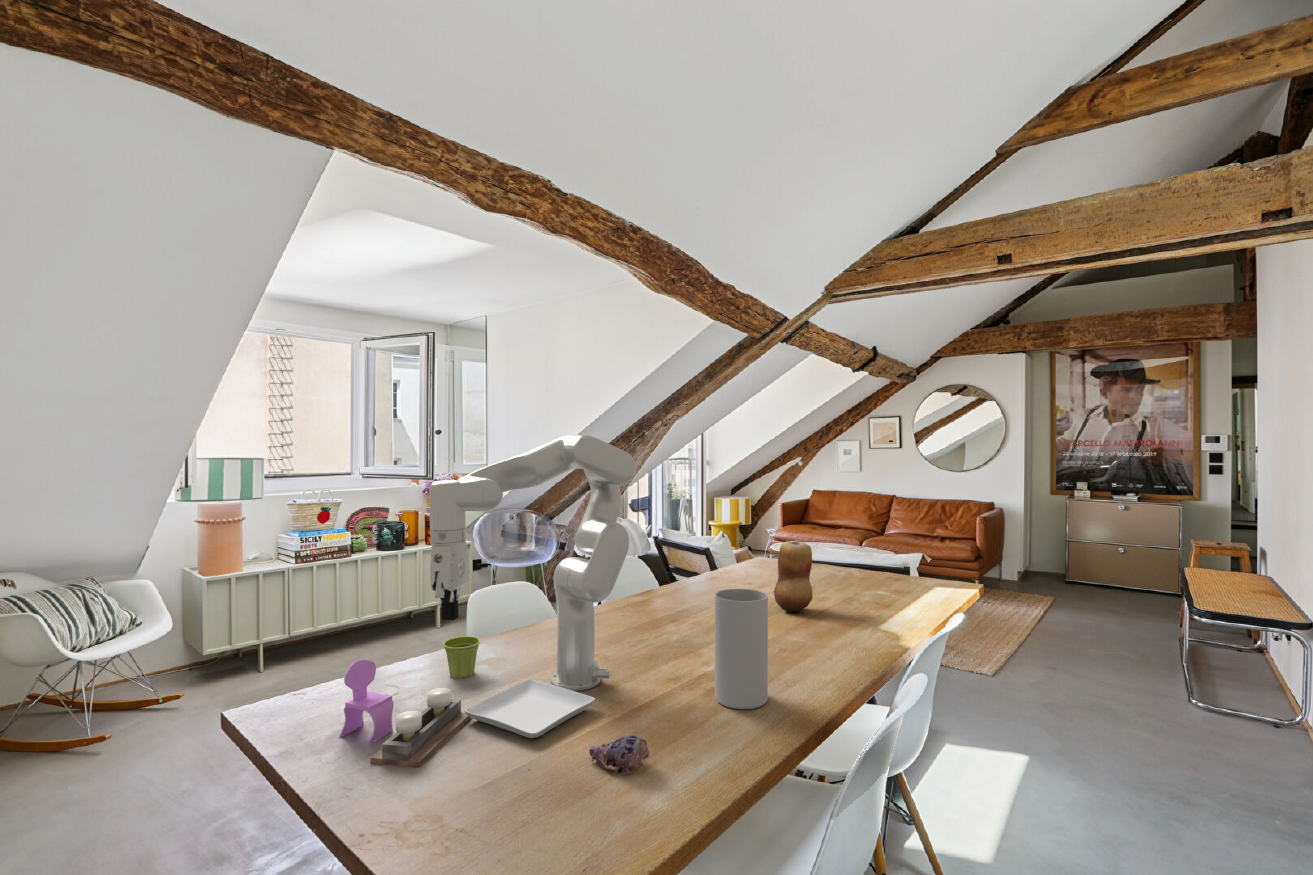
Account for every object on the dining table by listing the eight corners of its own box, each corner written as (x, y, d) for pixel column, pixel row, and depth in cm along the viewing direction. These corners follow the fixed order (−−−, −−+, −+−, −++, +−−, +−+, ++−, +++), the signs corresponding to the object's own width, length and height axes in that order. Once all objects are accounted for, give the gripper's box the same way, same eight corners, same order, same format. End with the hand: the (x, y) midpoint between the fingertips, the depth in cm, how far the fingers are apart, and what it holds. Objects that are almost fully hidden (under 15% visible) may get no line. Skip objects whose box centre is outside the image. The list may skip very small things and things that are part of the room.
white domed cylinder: (426, 737, 129) (426, 711, 129) (413, 748, 124) (413, 721, 124) (404, 735, 130) (404, 709, 130) (390, 746, 125) (390, 720, 125)
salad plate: (534, 749, 129) (534, 732, 129) (461, 724, 141) (461, 708, 141) (598, 711, 147) (598, 696, 147) (529, 691, 159) (529, 677, 159)
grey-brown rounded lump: (581, 765, 123) (581, 733, 123) (605, 749, 129) (605, 718, 129) (634, 783, 116) (634, 749, 116) (656, 765, 123) (656, 733, 123)
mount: (470, 717, 143) (471, 700, 143) (418, 767, 121) (418, 747, 121) (429, 714, 145) (429, 697, 145) (370, 762, 123) (370, 743, 123)
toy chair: (368, 746, 130) (368, 672, 130) (335, 739, 133) (335, 666, 133) (398, 728, 138) (398, 658, 138) (366, 722, 141) (366, 653, 141)
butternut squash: (804, 618, 222) (804, 546, 222) (768, 612, 229) (768, 542, 229) (817, 609, 234) (818, 540, 234) (783, 604, 241) (783, 537, 241)
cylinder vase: (771, 693, 157) (771, 591, 157) (762, 713, 145) (762, 603, 145) (721, 686, 161) (721, 587, 161) (709, 706, 149) (709, 598, 149)
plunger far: (454, 712, 141) (454, 688, 141) (443, 721, 136) (443, 697, 136) (434, 710, 142) (434, 687, 142) (422, 720, 137) (422, 695, 137)
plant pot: (469, 682, 164) (469, 648, 164) (436, 679, 165) (436, 646, 165) (486, 669, 173) (486, 637, 173) (454, 667, 175) (454, 635, 175)
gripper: (448, 542, 134) (450, 630, 135) (478, 531, 149) (480, 609, 149) (414, 542, 135) (417, 629, 136) (448, 530, 150) (449, 608, 151)
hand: (450, 618), depth 143 cm, fingers closed
